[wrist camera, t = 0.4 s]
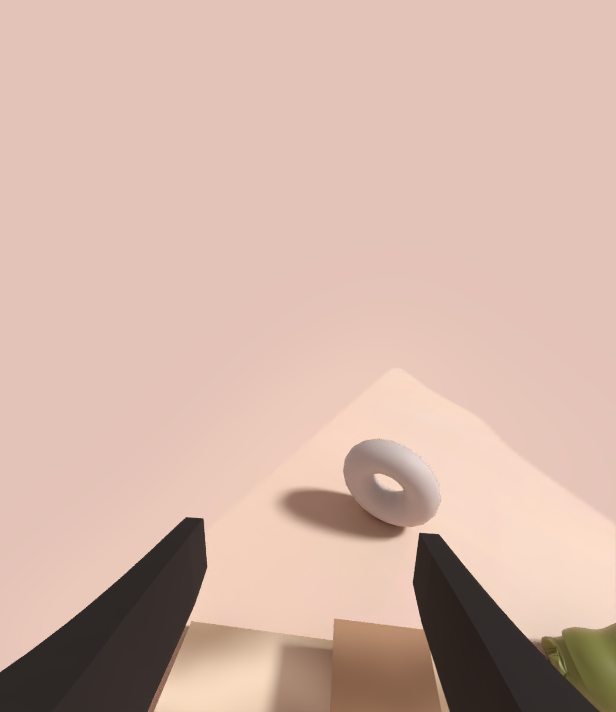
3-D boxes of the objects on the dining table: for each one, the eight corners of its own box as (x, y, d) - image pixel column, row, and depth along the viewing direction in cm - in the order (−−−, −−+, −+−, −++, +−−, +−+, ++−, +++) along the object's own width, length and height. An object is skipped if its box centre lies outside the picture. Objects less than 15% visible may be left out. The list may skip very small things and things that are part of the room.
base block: (448, 821, 15) (457, 794, 13) (331, 795, 16) (327, 767, 14) (422, 661, 20) (426, 630, 19) (337, 649, 21) (334, 618, 20)
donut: (340, 510, 33) (335, 439, 29) (351, 488, 35) (349, 421, 32) (433, 552, 28) (442, 473, 24) (439, 523, 30) (448, 448, 27)
